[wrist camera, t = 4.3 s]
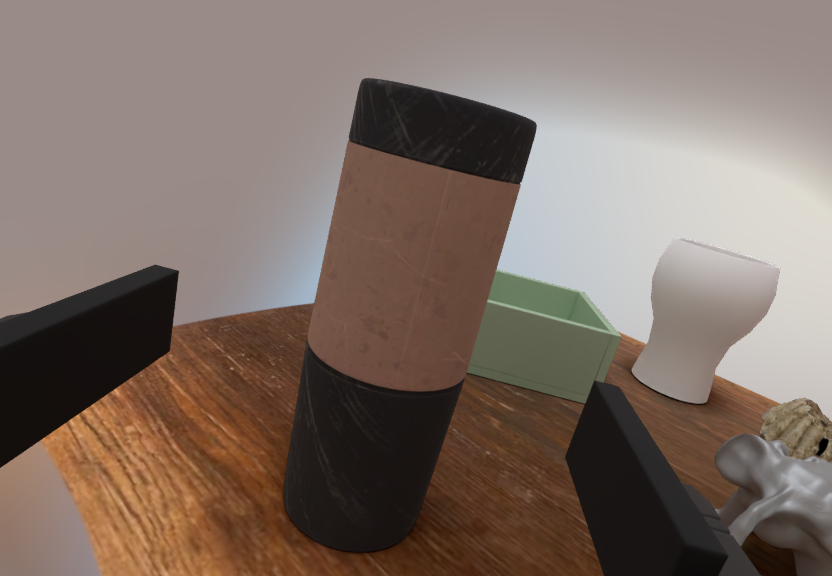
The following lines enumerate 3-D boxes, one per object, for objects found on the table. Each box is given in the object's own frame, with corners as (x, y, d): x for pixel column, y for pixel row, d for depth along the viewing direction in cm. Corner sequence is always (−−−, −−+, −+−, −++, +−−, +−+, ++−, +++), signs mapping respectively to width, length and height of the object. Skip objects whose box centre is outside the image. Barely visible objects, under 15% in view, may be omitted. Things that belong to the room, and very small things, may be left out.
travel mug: (308, 578, 21) (423, 82, 16) (258, 463, 27) (328, 72, 22) (450, 535, 26) (580, 134, 20) (380, 444, 32) (465, 114, 26)
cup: (603, 371, 53) (656, 234, 49) (635, 354, 62) (683, 236, 57) (710, 423, 47) (781, 271, 43) (731, 397, 55) (792, 267, 51)
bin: (444, 366, 45) (464, 295, 43) (448, 317, 58) (464, 261, 56) (594, 406, 45) (621, 336, 43) (564, 347, 58) (584, 292, 56)
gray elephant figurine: (871, 590, 30) (940, 482, 28) (872, 737, 21) (975, 593, 19) (704, 494, 35) (751, 397, 33) (649, 576, 26) (708, 452, 24)
